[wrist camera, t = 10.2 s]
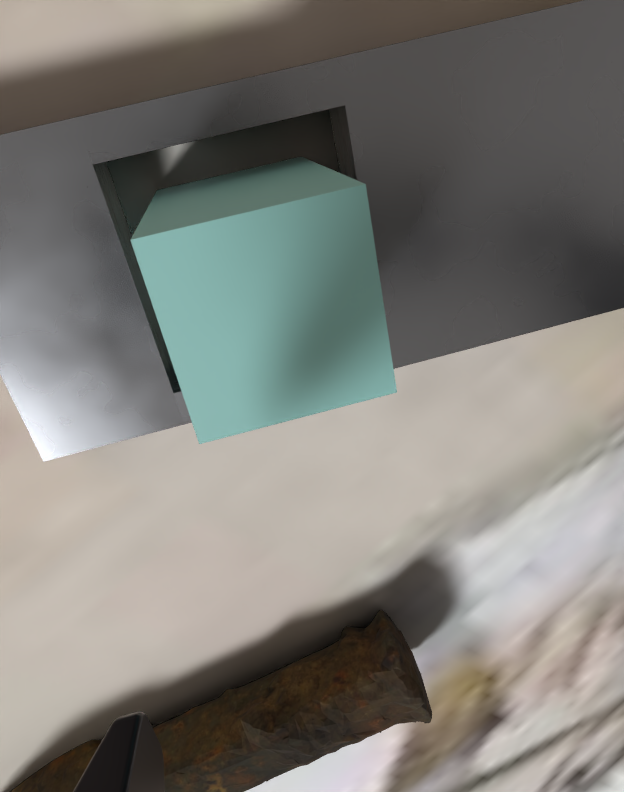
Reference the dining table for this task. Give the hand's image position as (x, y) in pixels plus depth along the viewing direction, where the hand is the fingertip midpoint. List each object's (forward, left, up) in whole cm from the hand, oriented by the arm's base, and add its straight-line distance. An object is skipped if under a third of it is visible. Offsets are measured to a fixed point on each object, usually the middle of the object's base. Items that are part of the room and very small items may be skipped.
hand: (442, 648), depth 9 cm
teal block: (+1, -4, -11) cm, 12 cm away
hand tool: (+8, +15, -12) cm, 20 cm away
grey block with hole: (-2, -4, -11) cm, 12 cm away
